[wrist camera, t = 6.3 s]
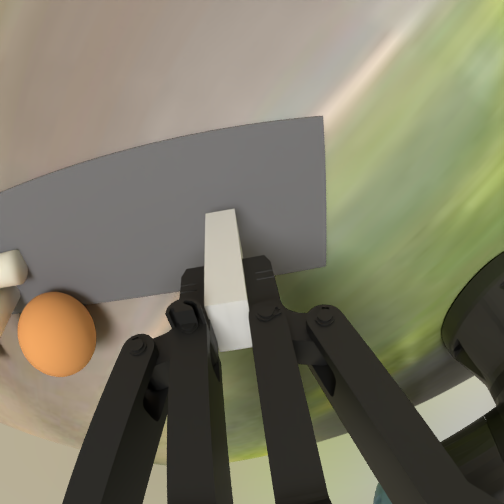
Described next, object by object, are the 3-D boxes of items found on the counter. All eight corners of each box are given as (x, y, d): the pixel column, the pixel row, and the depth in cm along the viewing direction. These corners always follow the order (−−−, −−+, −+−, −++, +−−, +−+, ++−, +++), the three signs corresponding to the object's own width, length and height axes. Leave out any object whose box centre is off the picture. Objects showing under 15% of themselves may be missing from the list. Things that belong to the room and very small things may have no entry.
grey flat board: (321, 116, 15) (322, 116, 15) (325, 264, 21) (325, 266, 21) (-54, 217, 15) (-56, 218, 15) (3, 313, 21) (2, 315, 21)
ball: (30, 269, 19) (50, 290, 16) (89, 302, 24) (123, 326, 20) (1, 339, 17) (15, 377, 14) (62, 364, 22) (91, 400, 18)
